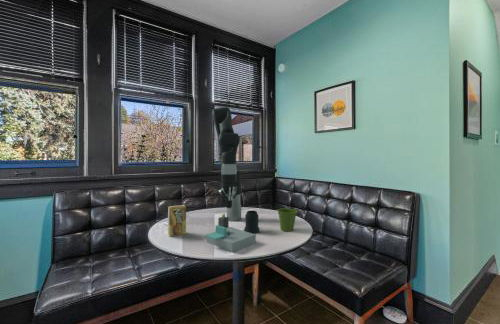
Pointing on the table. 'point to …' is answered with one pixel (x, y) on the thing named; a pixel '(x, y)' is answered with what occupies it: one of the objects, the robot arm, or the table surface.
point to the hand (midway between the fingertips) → (229, 207)
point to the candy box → (176, 220)
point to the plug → (223, 221)
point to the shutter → (218, 233)
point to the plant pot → (287, 219)
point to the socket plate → (234, 240)
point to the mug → (251, 222)
